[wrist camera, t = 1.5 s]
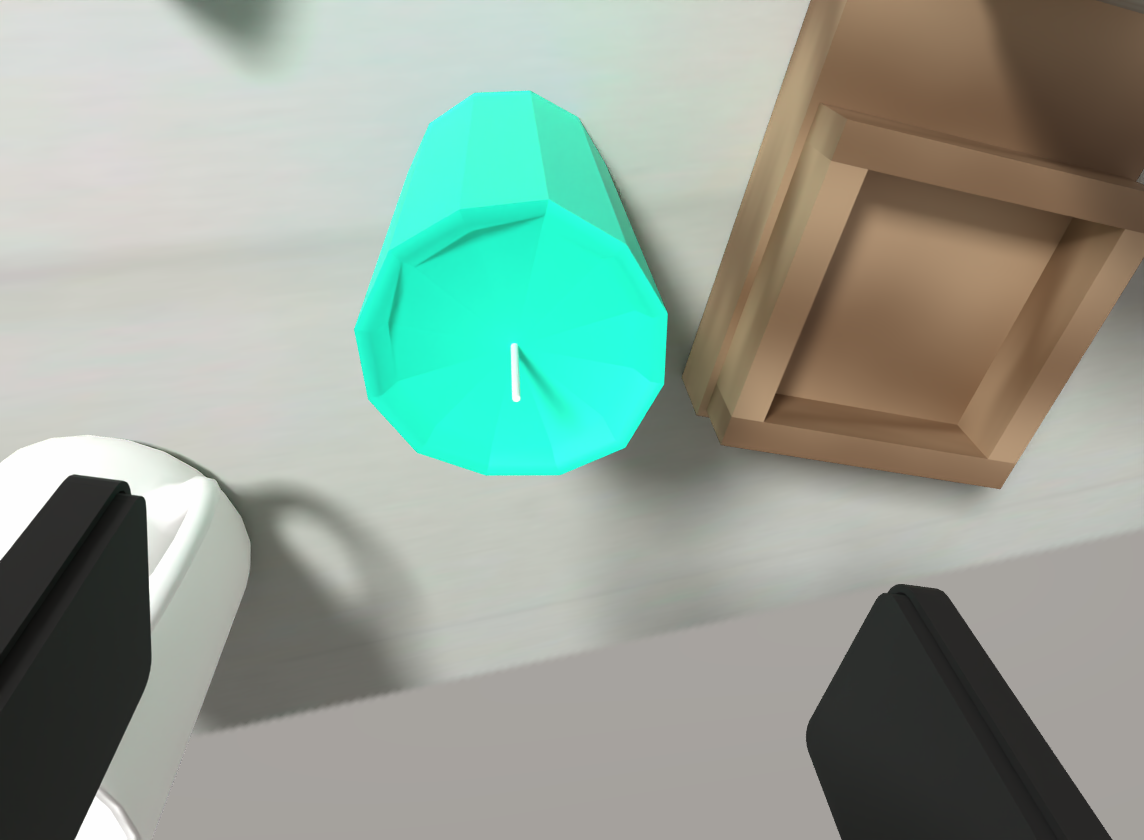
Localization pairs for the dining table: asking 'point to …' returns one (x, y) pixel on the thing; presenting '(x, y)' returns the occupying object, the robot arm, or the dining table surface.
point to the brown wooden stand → (928, 233)
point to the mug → (177, 604)
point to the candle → (511, 297)
